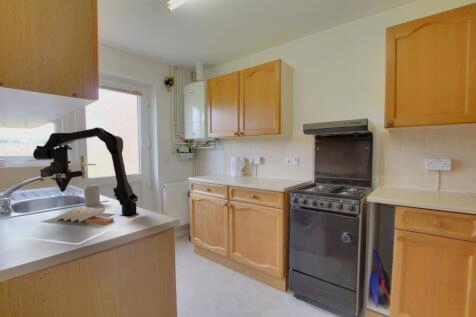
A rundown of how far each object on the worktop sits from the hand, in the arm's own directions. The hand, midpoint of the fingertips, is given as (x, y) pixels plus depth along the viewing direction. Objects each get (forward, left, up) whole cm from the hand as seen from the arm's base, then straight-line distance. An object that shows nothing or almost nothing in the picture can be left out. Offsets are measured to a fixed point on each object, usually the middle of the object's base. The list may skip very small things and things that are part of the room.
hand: (62, 191), depth 111 cm
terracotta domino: (-20, 0, -11) cm, 23 cm away
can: (+8, -20, -13) cm, 25 cm away
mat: (-11, -1, -12) cm, 16 cm away
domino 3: (-12, +2, -11) cm, 17 cm away
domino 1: (-4, +3, -11) cm, 12 cm away
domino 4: (-16, +1, -11) cm, 20 cm away
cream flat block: (-8, +3, -11) cm, 14 cm away
